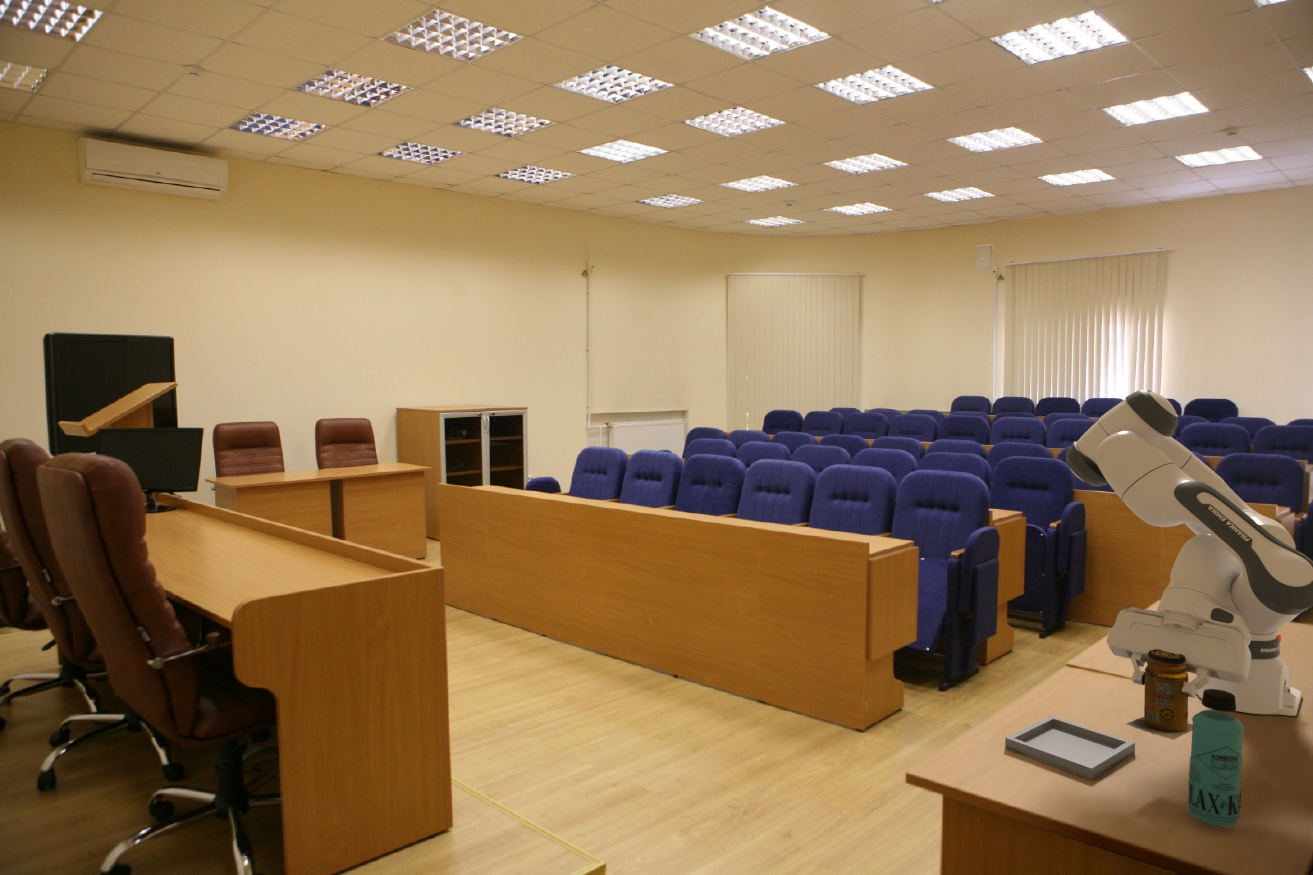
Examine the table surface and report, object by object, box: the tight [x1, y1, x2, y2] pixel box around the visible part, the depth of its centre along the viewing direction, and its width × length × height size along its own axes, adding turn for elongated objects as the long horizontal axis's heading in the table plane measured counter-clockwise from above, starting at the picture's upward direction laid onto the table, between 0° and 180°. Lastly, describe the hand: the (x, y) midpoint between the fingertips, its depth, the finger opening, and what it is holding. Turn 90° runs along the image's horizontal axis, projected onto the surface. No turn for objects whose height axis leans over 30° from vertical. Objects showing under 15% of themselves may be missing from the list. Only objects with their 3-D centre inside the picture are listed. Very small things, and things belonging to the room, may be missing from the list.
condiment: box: [1126, 649, 1193, 741], centre depth 135 cm, size 7×8×12 cm
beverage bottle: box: [1186, 689, 1245, 827], centre depth 122 cm, size 6×7×20 cm
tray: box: [1004, 715, 1136, 781], centre depth 147 cm, size 16×15×2 cm
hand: (1162, 688), depth 134 cm, fingers closed on condiment, 6 cm apart
